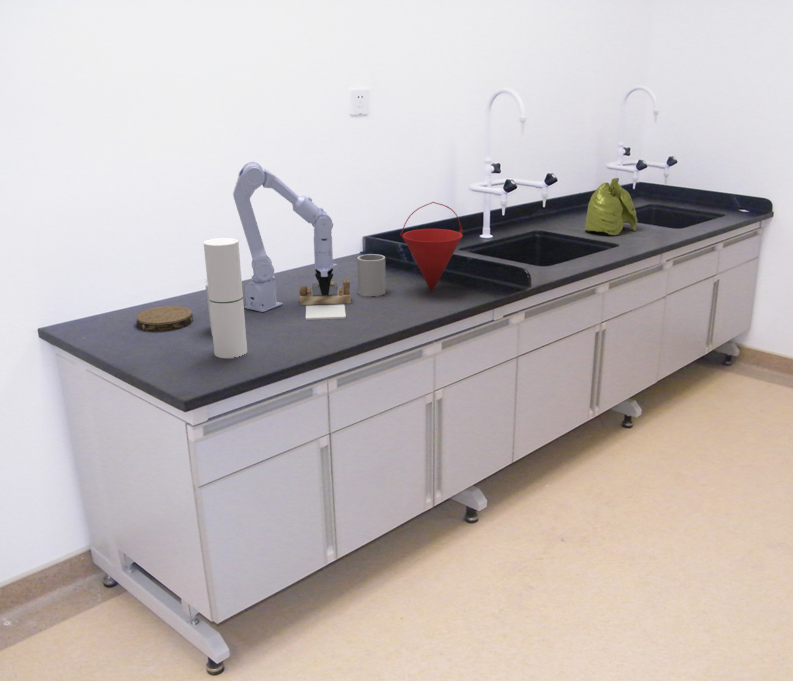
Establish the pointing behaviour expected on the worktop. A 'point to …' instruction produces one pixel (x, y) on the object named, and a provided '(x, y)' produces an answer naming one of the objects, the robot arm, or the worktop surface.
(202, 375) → the worktop surface
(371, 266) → the cup
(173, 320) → the wood slice
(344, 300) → the wooden block stand
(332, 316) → the white base plate
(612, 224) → the lungs
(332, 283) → the lever cap
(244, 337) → the container
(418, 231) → the fire bucket
